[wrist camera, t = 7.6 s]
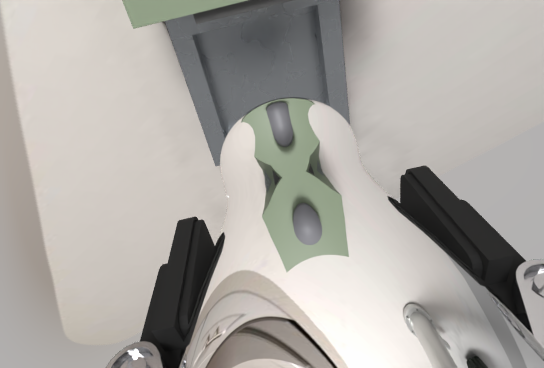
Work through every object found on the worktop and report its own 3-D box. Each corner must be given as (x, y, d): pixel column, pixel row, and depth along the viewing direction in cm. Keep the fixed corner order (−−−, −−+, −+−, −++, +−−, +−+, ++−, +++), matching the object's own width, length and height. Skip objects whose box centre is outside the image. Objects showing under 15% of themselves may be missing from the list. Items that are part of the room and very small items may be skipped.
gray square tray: (326, -27, 25) (336, -27, 22) (341, 122, 31) (350, 135, 29) (170, 12, 25) (163, 16, 23) (217, 150, 32) (215, 166, 29)
